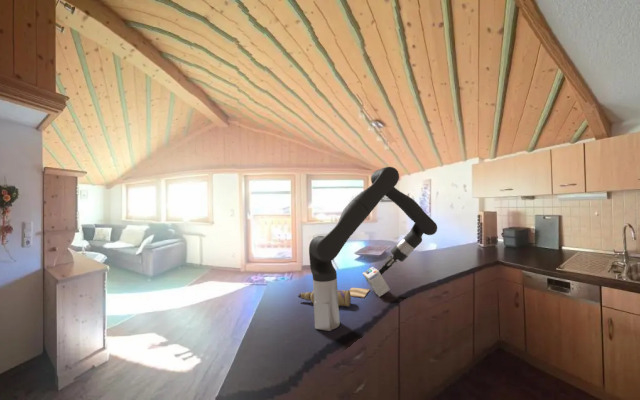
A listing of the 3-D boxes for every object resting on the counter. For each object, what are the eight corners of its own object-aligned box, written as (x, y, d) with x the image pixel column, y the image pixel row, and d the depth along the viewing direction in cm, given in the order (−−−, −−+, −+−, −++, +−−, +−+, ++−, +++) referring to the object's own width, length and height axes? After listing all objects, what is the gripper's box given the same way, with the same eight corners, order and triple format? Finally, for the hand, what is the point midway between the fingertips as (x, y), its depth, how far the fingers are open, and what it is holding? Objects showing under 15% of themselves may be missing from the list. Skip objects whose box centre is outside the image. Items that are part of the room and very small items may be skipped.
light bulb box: (372, 290, 125) (361, 273, 125) (382, 283, 126) (372, 266, 126) (379, 297, 114) (367, 278, 114) (390, 289, 115) (379, 270, 115)
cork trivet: (364, 297, 115) (364, 296, 115) (344, 295, 119) (344, 294, 119) (369, 290, 125) (369, 289, 126) (351, 288, 130) (351, 287, 130)
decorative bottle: (352, 302, 110) (351, 288, 110) (348, 309, 103) (347, 293, 103) (302, 298, 119) (301, 285, 119) (295, 304, 112) (294, 290, 112)
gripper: (398, 242, 123) (376, 265, 128) (395, 246, 111) (371, 271, 116) (410, 253, 121) (387, 275, 125) (407, 257, 109) (382, 282, 113)
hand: (379, 273), depth 121 cm, fingers closed
